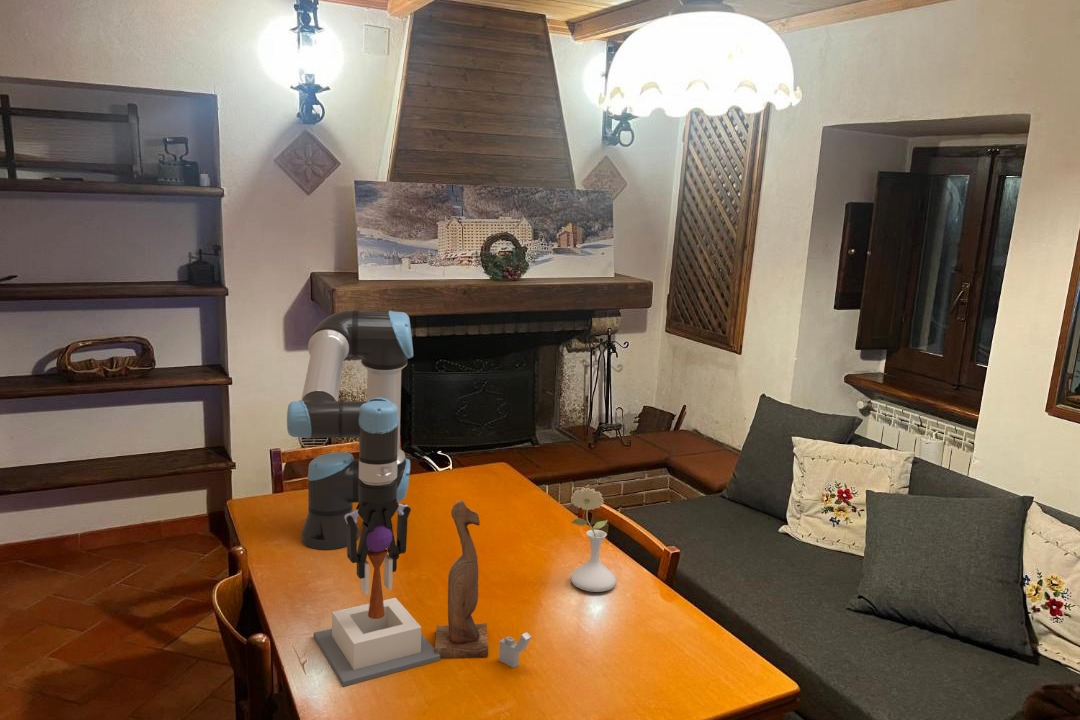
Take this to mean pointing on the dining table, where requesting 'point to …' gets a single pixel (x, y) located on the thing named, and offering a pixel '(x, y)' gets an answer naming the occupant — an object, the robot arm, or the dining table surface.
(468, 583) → the bird sculpture
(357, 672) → the socket
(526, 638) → the lighter
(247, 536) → the dining table surface
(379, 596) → the kendama
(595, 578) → the flower in vase
